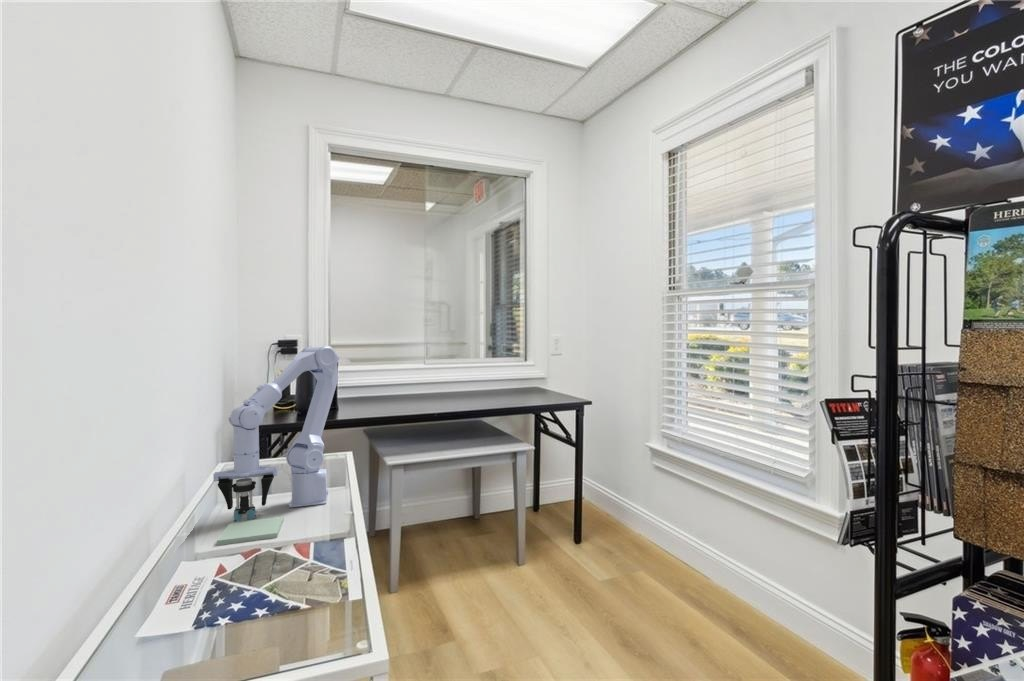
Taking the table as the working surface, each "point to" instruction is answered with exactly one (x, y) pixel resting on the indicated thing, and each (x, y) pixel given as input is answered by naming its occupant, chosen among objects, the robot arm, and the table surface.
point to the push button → (244, 500)
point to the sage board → (251, 530)
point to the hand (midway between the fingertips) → (247, 506)
